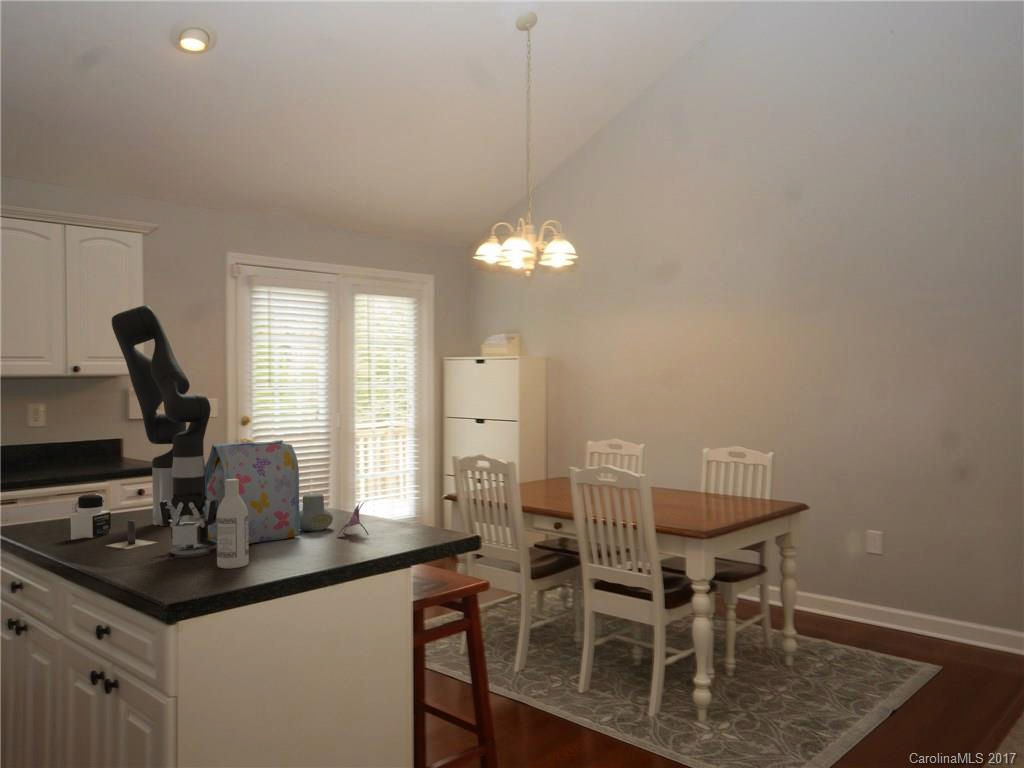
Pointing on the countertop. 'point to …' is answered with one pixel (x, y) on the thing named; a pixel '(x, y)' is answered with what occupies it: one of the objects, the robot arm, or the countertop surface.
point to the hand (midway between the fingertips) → (189, 541)
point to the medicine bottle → (90, 518)
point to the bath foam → (232, 529)
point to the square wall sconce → (186, 533)
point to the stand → (131, 539)
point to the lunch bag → (257, 486)
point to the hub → (189, 551)
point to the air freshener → (314, 514)
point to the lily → (354, 519)
